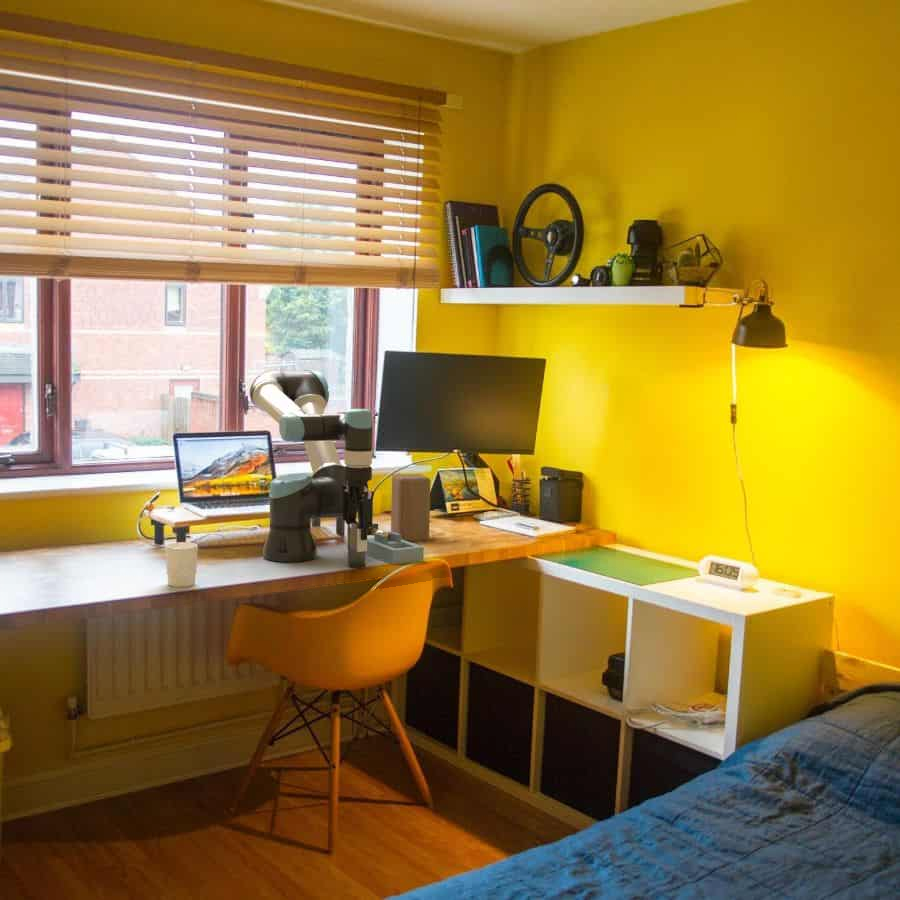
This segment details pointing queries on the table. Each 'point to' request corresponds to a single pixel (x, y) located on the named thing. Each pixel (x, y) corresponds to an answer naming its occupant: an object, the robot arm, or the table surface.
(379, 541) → the mount
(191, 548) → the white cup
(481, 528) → the table surface
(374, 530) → the lock pin
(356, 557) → the spigot
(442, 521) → the table surface
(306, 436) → the robot arm
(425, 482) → the wooden block
